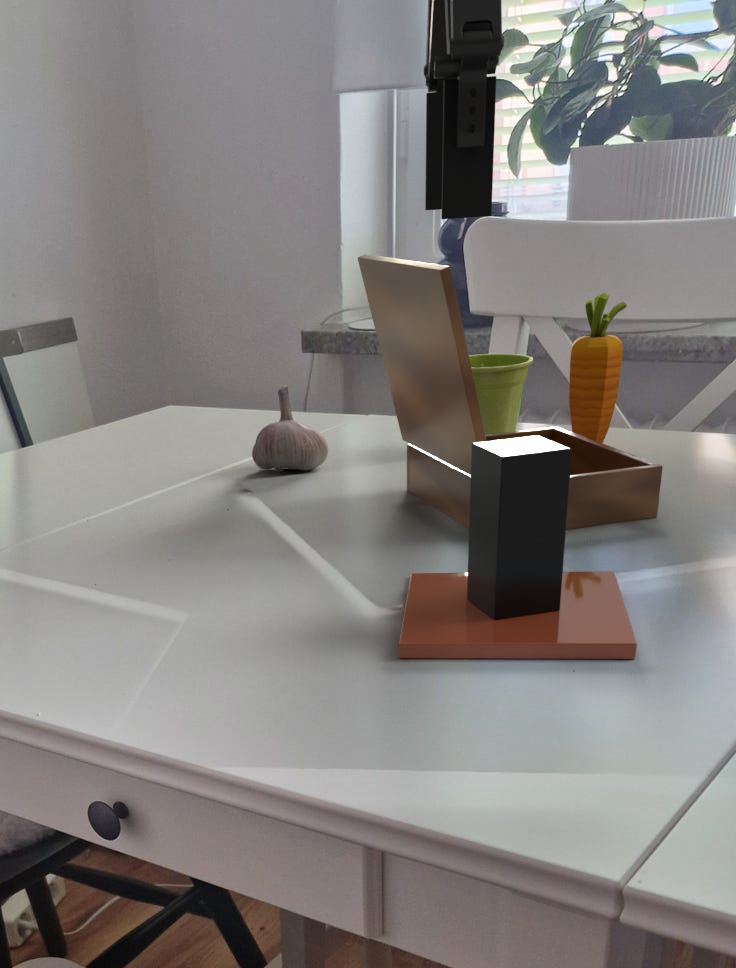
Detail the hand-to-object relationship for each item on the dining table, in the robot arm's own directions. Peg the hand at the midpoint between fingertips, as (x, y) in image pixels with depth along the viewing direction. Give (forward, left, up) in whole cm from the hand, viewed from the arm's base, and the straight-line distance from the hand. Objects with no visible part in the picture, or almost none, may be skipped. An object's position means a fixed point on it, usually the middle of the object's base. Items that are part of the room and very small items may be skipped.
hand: (455, 213), depth 71 cm
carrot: (-12, -37, -24) cm, 46 cm away
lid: (+2, -17, -11) cm, 20 cm away
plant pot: (-2, -44, -24) cm, 50 cm away
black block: (-4, +7, -22) cm, 24 cm away
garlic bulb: (+17, -38, -24) cm, 48 cm away
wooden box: (-6, -20, -23) cm, 31 cm away
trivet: (-4, +7, -23) cm, 25 cm away
